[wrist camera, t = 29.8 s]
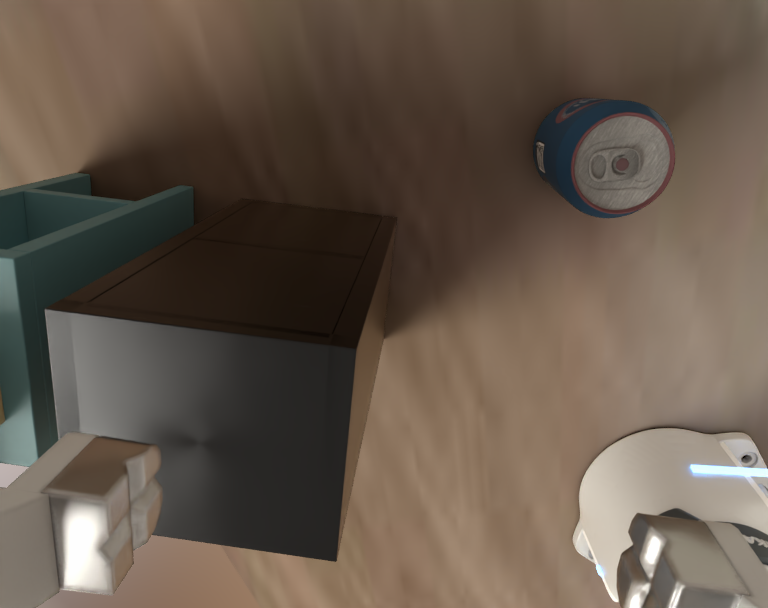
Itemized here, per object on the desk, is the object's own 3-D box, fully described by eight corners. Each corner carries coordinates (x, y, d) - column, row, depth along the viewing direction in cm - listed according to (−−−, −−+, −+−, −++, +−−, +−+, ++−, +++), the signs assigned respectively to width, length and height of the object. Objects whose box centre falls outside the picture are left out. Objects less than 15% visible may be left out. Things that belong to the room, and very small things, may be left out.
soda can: (625, 92, 43) (690, 93, 32) (622, 186, 46) (683, 219, 34) (529, 103, 44) (560, 108, 33) (531, 195, 46) (561, 229, 35)
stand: (195, 320, 53) (40, 469, 32) (87, 306, 53) (-135, 444, 32) (193, 186, 48) (13, 258, 28) (76, 172, 49) (-186, 233, 28)
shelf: (383, 339, 52) (336, 562, 27) (239, 321, 52) (66, 523, 28) (397, 217, 48) (356, 349, 24) (241, 198, 48) (43, 308, 24)
